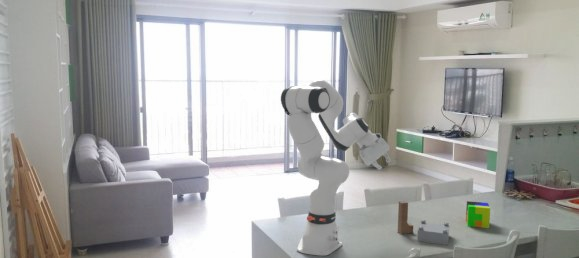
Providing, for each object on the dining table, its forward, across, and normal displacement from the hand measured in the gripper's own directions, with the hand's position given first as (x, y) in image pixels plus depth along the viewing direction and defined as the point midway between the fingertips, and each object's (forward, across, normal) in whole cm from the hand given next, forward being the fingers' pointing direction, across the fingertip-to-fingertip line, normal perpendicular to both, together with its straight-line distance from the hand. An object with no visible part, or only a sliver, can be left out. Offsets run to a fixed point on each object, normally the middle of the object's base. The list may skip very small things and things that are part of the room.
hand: (385, 165), depth 232 cm
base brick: (+39, -6, -1) cm, 40 cm away
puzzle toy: (+51, +27, -4) cm, 58 cm away
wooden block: (+31, -7, +9) cm, 33 cm away
